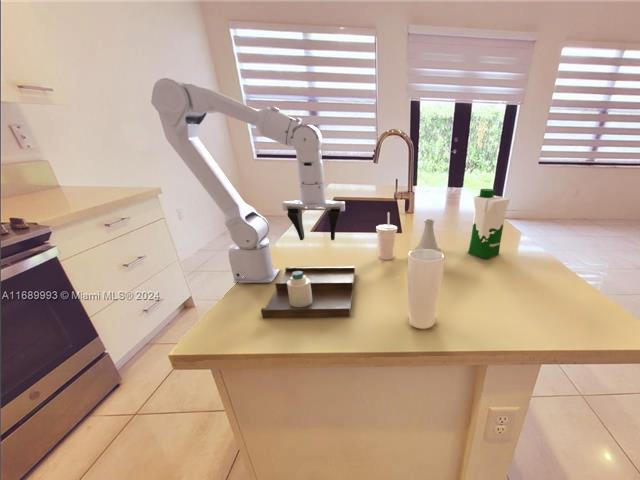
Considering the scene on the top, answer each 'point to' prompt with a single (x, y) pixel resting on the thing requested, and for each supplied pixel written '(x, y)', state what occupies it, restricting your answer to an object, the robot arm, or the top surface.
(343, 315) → the rack
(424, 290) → the drinking glass
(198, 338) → the top surface
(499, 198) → the milk carton
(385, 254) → the smoothie
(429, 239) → the flask
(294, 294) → the bottle
